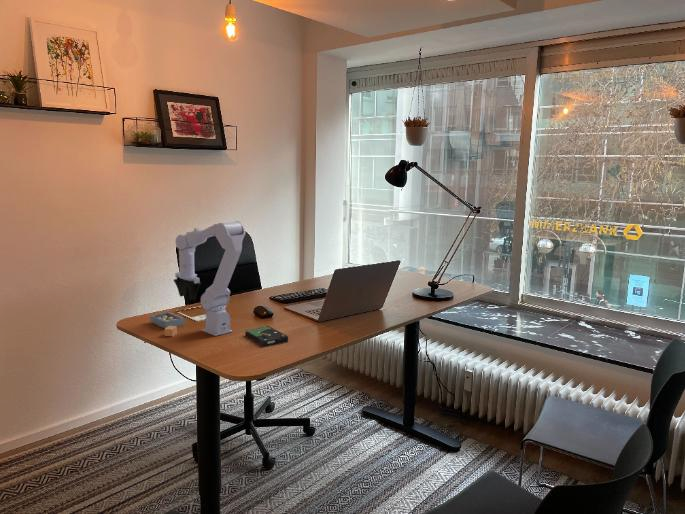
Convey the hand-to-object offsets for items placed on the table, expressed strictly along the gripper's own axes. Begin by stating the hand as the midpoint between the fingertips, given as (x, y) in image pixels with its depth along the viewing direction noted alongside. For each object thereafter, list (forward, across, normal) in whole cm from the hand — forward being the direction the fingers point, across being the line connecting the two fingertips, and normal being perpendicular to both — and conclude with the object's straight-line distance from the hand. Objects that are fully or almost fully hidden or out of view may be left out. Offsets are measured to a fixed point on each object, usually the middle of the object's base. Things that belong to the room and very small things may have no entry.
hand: (187, 297), depth 214 cm
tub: (+10, +4, +7) cm, 13 cm away
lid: (+11, -9, +13) cm, 19 cm away
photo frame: (+11, +8, -11) cm, 18 cm away
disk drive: (+11, -36, -10) cm, 39 cm away
